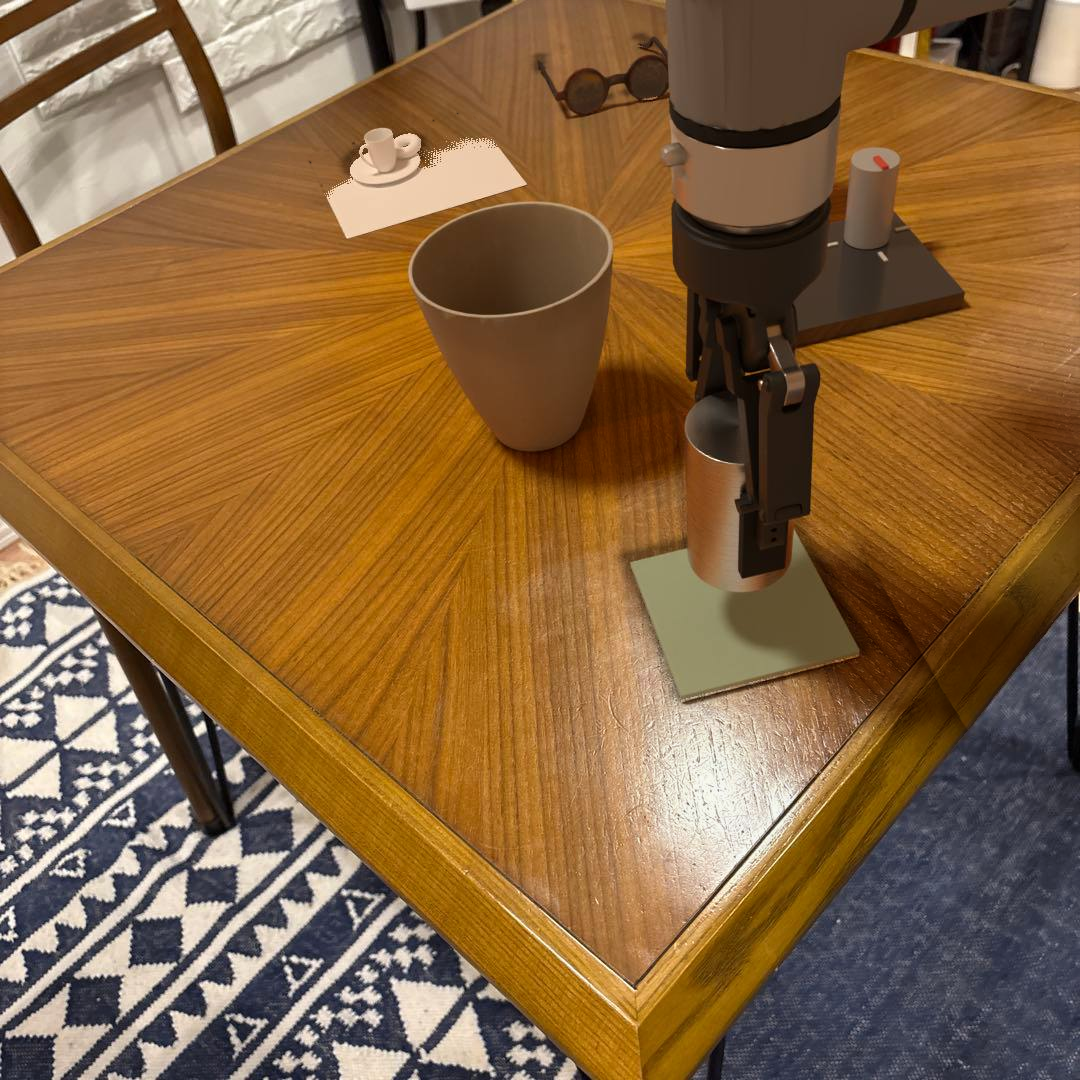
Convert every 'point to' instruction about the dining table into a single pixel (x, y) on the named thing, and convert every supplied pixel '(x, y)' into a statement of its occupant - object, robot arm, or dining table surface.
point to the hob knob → (871, 197)
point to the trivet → (740, 623)
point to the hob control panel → (873, 287)
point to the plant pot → (519, 313)
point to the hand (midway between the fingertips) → (740, 526)
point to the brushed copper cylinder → (718, 495)
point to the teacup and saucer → (416, 181)
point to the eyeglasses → (613, 82)
